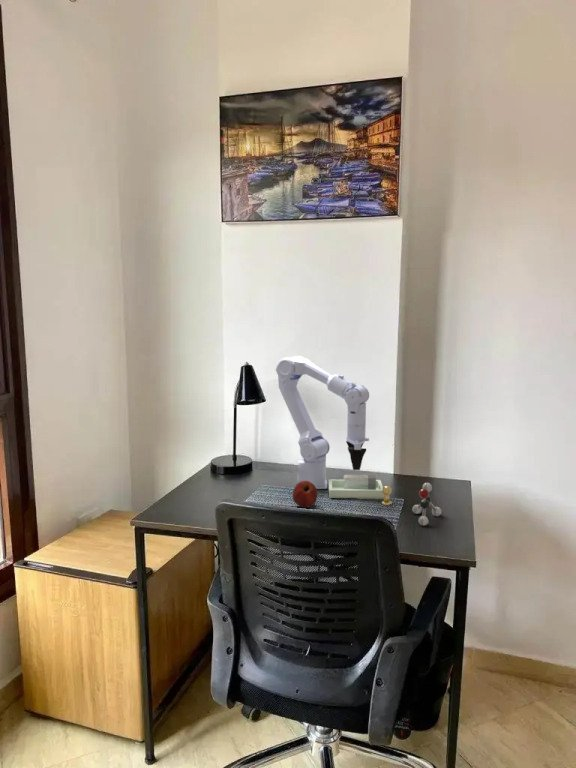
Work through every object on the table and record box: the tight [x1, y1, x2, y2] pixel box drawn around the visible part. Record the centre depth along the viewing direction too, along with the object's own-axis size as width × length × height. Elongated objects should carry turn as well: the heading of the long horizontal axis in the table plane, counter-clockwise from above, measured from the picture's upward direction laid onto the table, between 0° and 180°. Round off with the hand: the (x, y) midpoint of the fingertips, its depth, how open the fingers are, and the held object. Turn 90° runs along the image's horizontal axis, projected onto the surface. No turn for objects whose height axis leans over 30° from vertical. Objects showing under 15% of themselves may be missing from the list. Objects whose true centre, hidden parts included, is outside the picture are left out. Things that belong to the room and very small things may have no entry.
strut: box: [343, 474, 377, 490], centre depth 188 cm, size 10×4×5 cm, turn 87°
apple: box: [292, 481, 318, 508], centre depth 176 cm, size 7×8×8 cm
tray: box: [327, 479, 384, 500], centre depth 189 cm, size 17×11×3 cm, turn 87°
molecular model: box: [411, 482, 442, 527], centre depth 165 cm, size 8×12×11 cm
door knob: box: [381, 485, 392, 506], centre depth 179 cm, size 3×3×6 cm
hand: (355, 466), depth 187 cm, fingers open, 7 cm apart
